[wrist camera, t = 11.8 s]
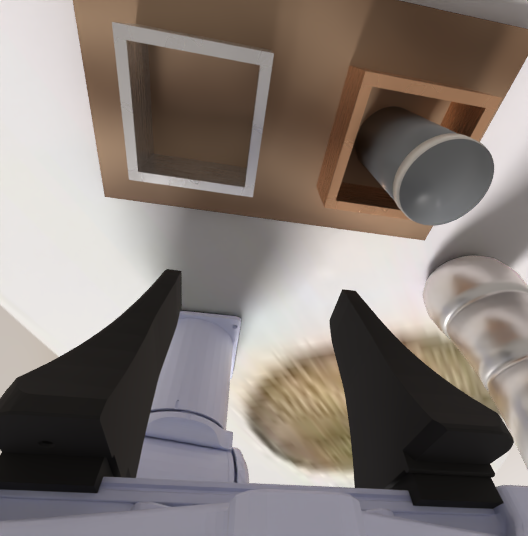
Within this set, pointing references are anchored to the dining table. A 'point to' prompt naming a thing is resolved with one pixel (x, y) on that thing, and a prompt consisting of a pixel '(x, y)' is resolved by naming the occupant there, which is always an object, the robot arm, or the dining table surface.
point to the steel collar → (140, 113)
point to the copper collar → (348, 121)
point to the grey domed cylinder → (424, 165)
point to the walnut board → (282, 92)
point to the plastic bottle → (487, 330)
